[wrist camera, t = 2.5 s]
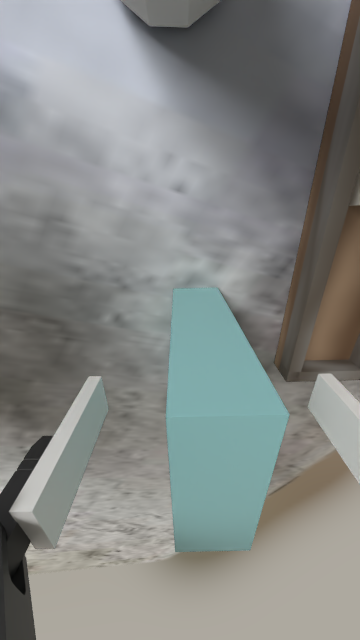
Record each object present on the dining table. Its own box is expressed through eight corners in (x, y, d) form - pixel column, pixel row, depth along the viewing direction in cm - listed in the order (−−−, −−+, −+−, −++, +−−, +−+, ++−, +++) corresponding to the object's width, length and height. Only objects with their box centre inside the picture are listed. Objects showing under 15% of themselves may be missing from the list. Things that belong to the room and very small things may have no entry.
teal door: (176, 377, 21) (175, 552, 10) (173, 288, 17) (165, 417, 6) (212, 376, 21) (250, 550, 10) (217, 287, 17) (289, 414, 6)
